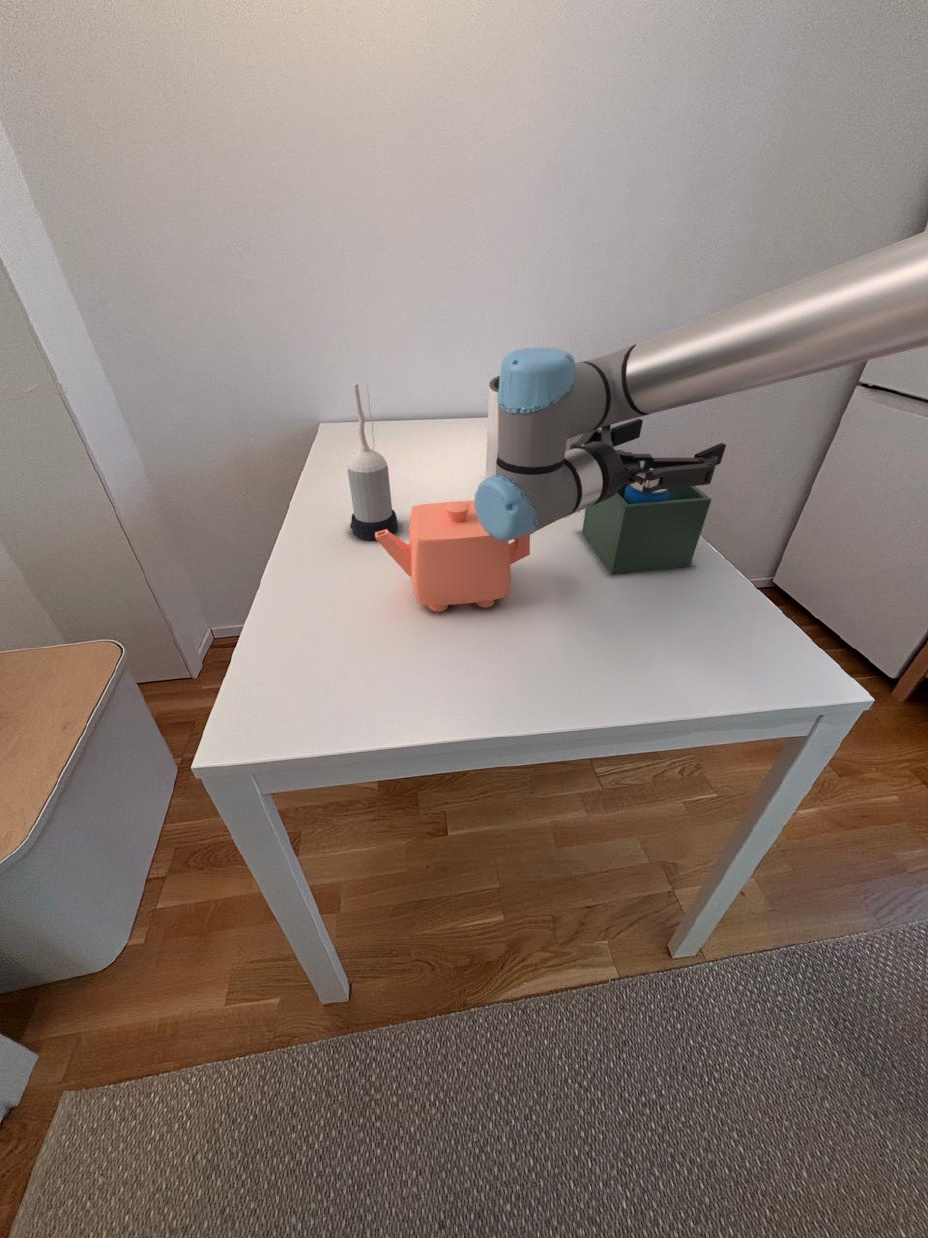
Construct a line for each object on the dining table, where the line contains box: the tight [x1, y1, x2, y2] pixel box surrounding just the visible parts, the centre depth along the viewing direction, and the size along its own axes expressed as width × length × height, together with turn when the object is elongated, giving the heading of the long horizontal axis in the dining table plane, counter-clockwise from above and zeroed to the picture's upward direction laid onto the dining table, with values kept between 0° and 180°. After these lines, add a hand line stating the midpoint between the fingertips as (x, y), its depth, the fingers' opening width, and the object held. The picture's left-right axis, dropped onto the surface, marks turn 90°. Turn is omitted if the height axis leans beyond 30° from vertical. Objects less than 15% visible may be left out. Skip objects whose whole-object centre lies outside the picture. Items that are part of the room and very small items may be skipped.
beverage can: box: [624, 482, 669, 504], centre depth 82 cm, size 6×6×12 cm
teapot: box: [375, 500, 531, 612], centre depth 75 cm, size 22×13×14 cm, turn 98°
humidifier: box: [346, 383, 399, 542], centre depth 86 cm, size 8×8×25 cm
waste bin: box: [581, 465, 712, 575], centre depth 85 cm, size 14×14×12 cm
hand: (677, 439), depth 76 cm, fingers open, 13 cm apart
